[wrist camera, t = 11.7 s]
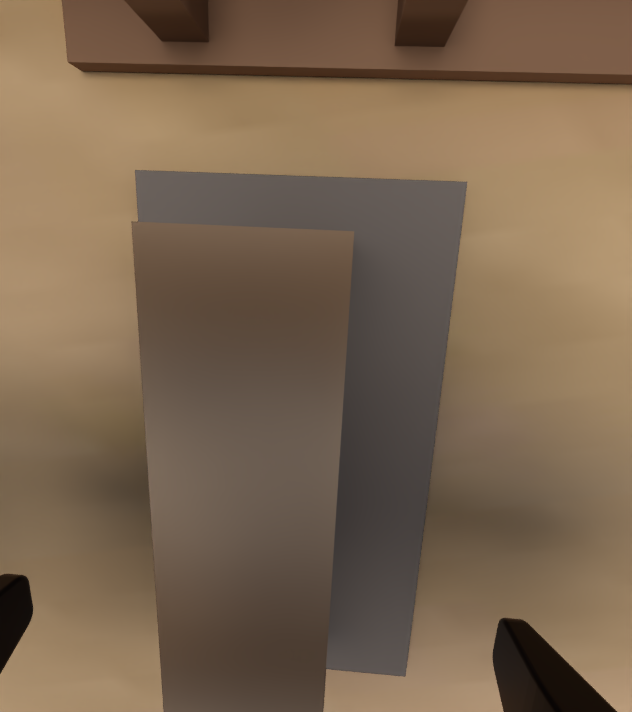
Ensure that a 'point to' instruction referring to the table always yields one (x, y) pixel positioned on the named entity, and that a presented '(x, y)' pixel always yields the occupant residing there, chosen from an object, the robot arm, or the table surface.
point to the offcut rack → (357, 38)
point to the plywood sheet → (242, 455)
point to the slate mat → (362, 371)
